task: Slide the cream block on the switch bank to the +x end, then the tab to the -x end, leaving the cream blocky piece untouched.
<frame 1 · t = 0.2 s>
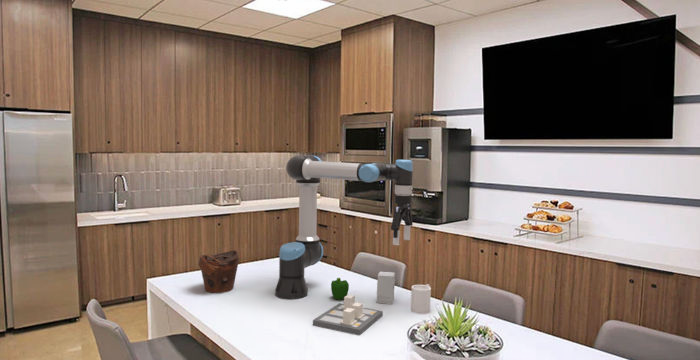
hand: (401, 242, 211), 28 cm above the table, fingers open, 13 cm apart
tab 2: (357, 310, 189), point 5 cm above the table, slide at 3.5 cm
supplement box: (385, 301, 216), on the table
switch bank: (348, 320, 191), on the table
cup: (422, 309, 206), on the table
bell pepper: (339, 298, 218), on the table
chocolate chip muffin: (218, 289, 227), on the table
cream blocky piece 3: (348, 316, 182), point 5 cm above the table, slide at 3.5 cm
cream block 1: (349, 302, 199), point 5 cm above the table, slide at -3.5 cm
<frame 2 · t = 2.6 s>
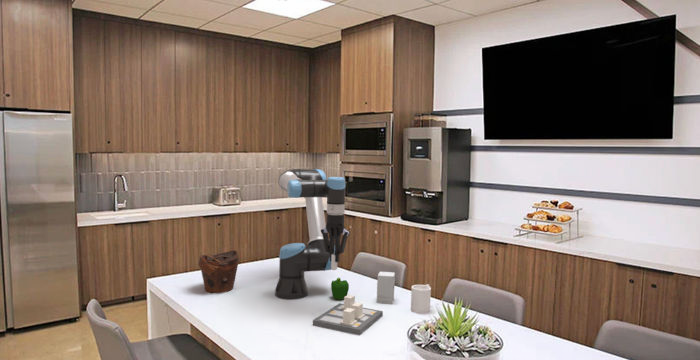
hand: (334, 269, 201), 18 cm above the table, fingers closed
nothing on the table moved.
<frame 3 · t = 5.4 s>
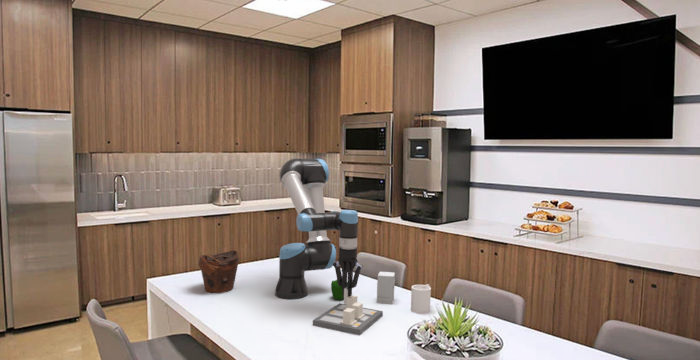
hand: (346, 303, 199), 4 cm above the table, fingers closed
cream block 1: (351, 302, 198), point 5 cm above the table, slide at -2.3 cm, touching gripper
everything else where it was.
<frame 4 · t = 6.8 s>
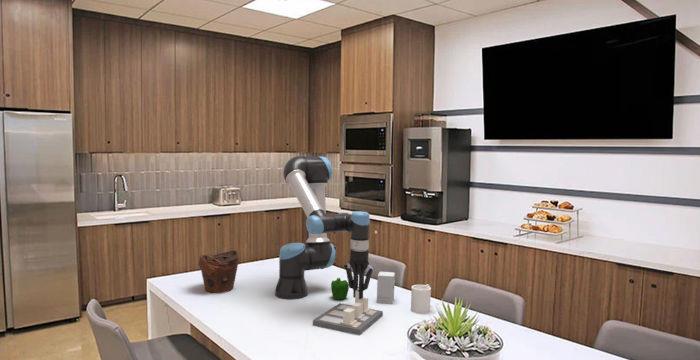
hand: (357, 305, 197), 4 cm above the table, fingers closed
cream block 1: (362, 304, 196), point 5 cm above the table, slide at 2.7 cm, touching gripper
everything else where it was.
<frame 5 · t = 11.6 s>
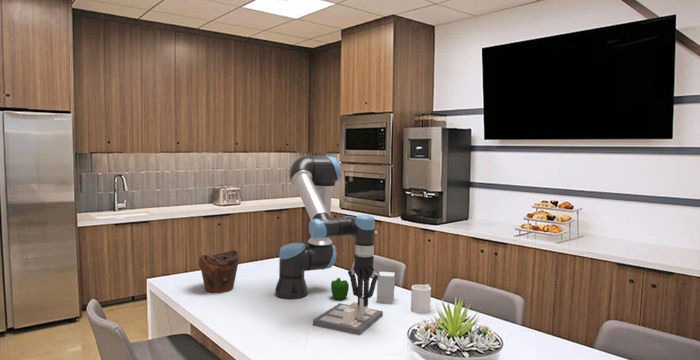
hand: (362, 313, 188), 4 cm above the table, fingers closed
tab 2: (354, 310, 189), point 5 cm above the table, slide at 2.6 cm, touching gripper
cream block 1: (362, 304, 196), point 5 cm above the table, slide at 2.7 cm
everything else where it was.
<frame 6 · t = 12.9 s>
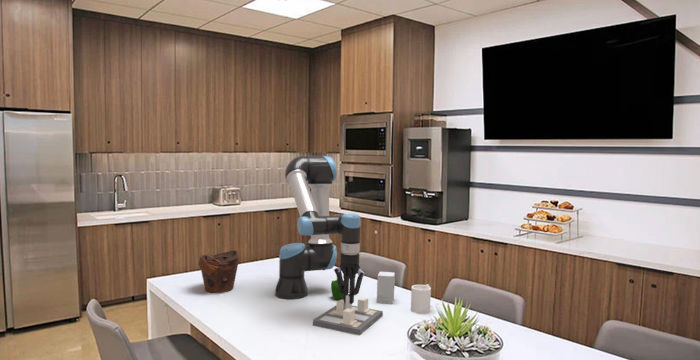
hand: (348, 310, 191), 4 cm above the table, fingers closed
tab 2: (341, 307, 192), point 5 cm above the table, slide at -3.2 cm
everything else where it was.
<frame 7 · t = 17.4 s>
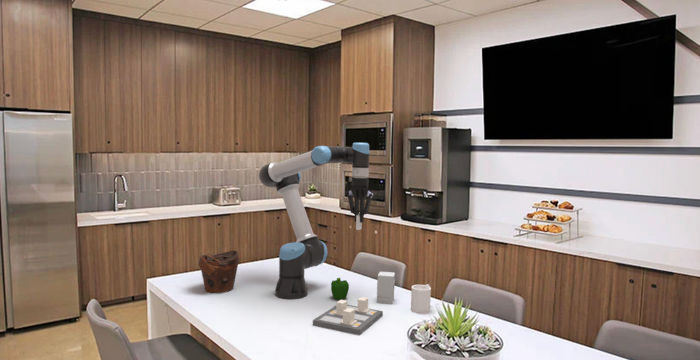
hand: (358, 229, 214), 32 cm above the table, fingers closed
nothing on the table moved.
at the end: cream block 1 slide at 2.7 cm; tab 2 slide at -3.2 cm; cream blocky piece 3 slide at 3.5 cm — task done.
